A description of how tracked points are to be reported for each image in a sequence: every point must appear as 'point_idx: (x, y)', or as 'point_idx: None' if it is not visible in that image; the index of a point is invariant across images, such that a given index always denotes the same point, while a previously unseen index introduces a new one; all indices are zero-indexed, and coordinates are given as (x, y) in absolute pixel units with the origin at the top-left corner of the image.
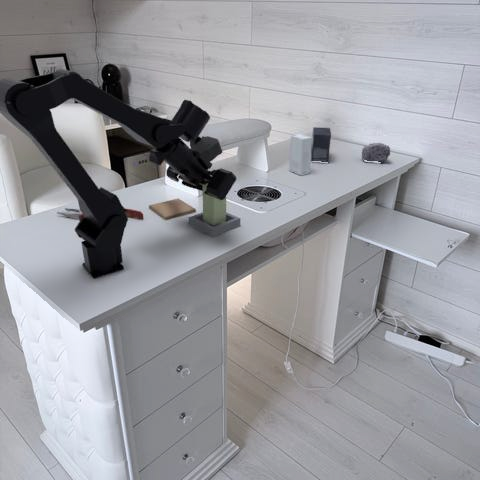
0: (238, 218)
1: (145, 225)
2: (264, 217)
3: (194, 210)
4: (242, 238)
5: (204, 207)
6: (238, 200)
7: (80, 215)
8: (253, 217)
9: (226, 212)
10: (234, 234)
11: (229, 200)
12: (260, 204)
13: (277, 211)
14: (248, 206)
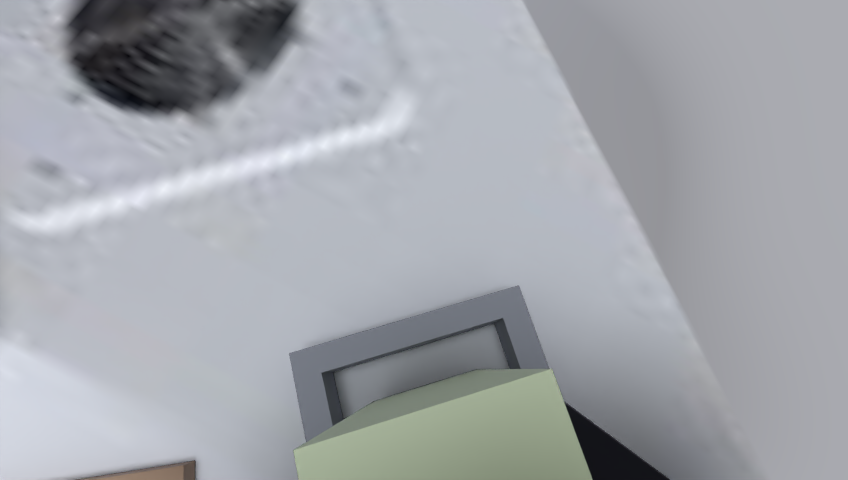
0: (516, 297)
1: None
2: (464, 130)
3: (187, 474)
4: (662, 361)
5: None
6: (196, 141)
7: None
8: (439, 178)
9: (397, 323)
10: (600, 379)
11: (165, 184)
12: (309, 70)
13: (427, 44)
14: (299, 133)
